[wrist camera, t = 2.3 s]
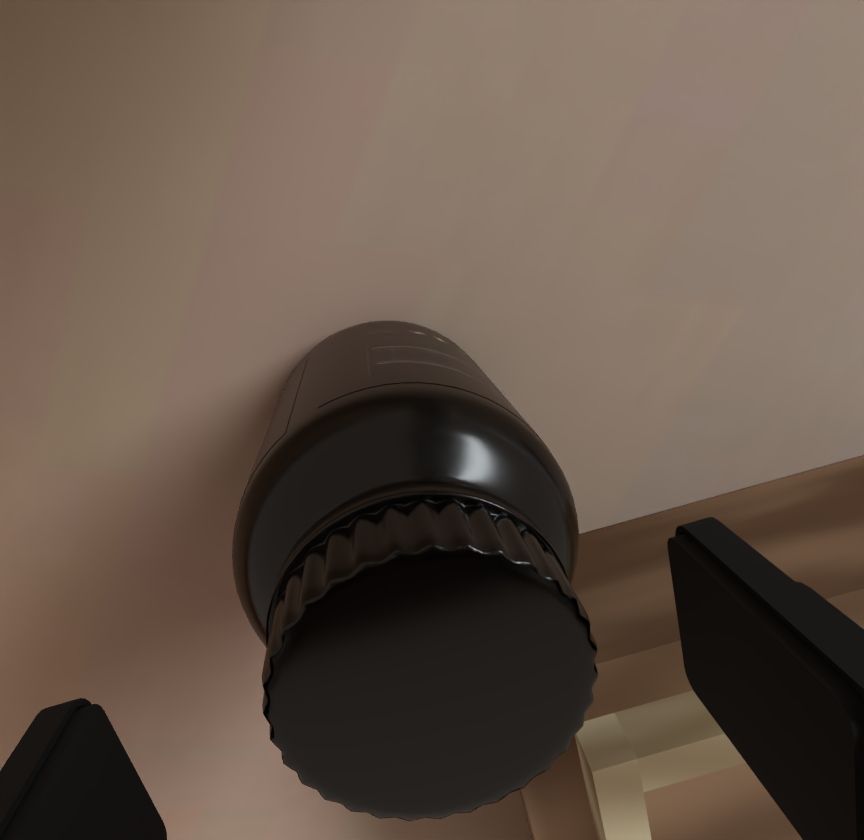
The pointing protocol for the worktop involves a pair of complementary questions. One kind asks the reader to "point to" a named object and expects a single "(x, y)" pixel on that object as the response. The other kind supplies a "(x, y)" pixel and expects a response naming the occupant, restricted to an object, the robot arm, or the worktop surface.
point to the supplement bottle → (411, 580)
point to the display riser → (665, 674)
